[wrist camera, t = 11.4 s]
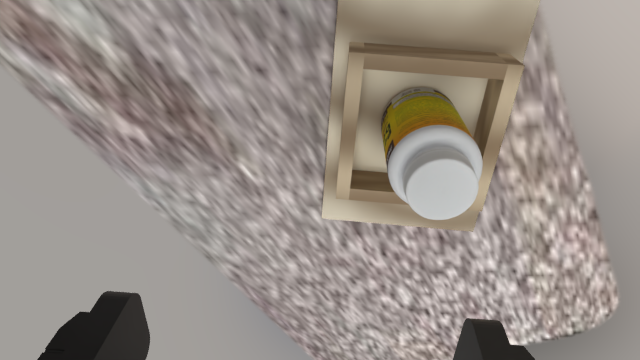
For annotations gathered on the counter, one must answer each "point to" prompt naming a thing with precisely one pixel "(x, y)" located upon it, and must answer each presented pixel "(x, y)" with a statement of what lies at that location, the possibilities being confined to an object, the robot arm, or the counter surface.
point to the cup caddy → (411, 72)
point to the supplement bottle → (430, 154)
